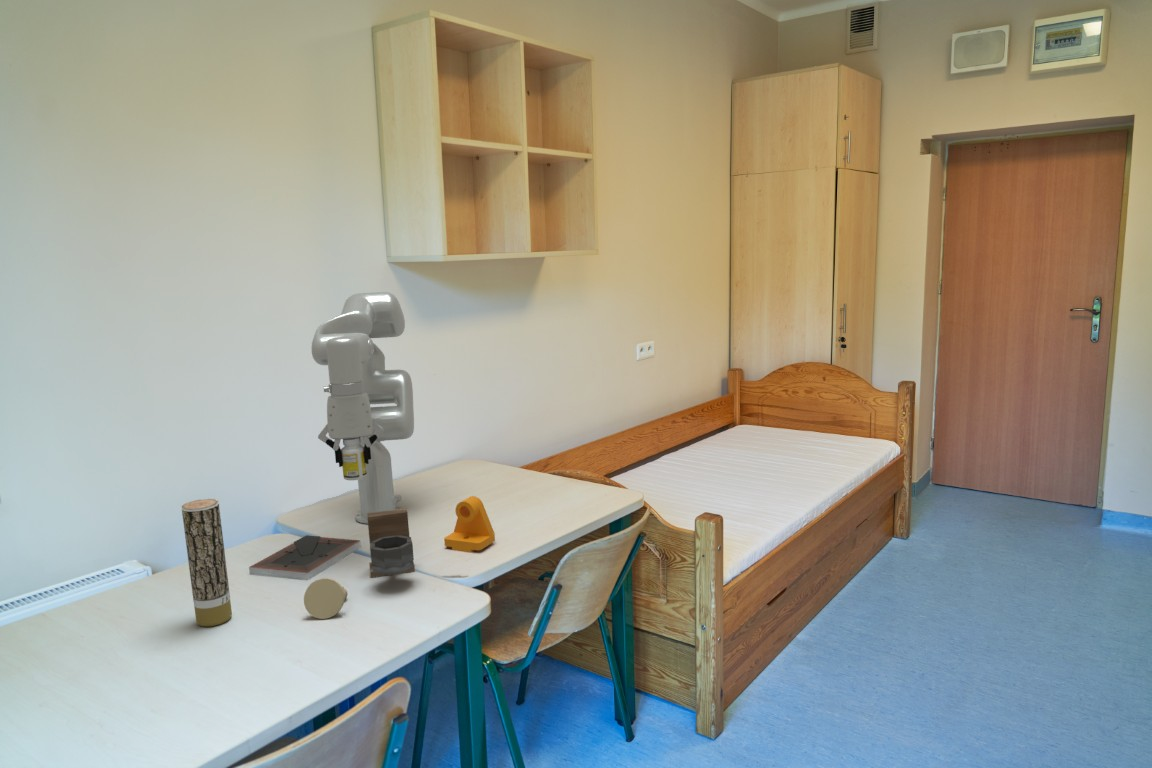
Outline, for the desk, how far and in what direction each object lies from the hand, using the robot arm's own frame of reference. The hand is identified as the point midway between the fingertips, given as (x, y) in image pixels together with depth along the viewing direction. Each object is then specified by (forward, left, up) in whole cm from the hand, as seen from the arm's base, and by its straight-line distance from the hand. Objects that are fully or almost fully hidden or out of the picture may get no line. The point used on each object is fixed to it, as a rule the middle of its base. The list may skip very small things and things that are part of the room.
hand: (353, 463), depth 191 cm
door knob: (+26, +9, -25) cm, 37 cm away
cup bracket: (+9, +14, -24) cm, 29 cm away
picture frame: (+3, -14, -25) cm, 29 cm away
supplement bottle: (0, 0, -4) cm, 4 cm away
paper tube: (+36, -12, -24) cm, 45 cm away
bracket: (-14, +22, -25) cm, 36 cm away
